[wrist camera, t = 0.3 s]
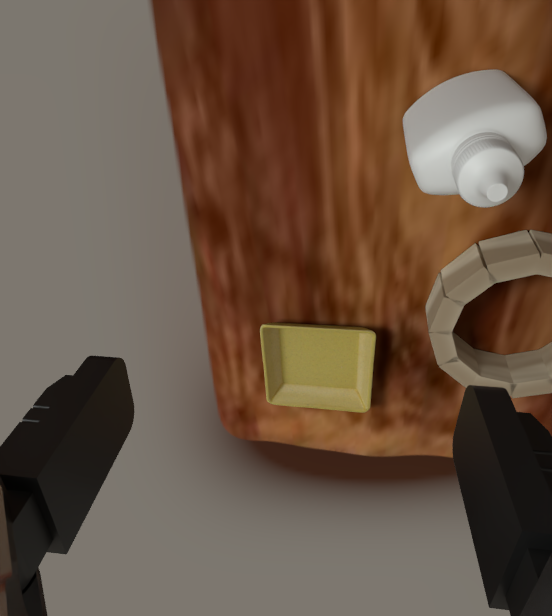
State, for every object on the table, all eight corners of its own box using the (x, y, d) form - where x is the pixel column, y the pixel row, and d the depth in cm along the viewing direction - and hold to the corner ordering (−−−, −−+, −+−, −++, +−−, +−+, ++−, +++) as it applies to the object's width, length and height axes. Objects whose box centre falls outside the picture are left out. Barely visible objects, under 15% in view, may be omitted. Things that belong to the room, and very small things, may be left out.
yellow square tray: (370, 396, 41) (369, 414, 40) (270, 387, 43) (266, 405, 41) (376, 314, 36) (376, 331, 35) (264, 308, 38) (259, 324, 36)
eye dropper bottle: (496, 152, 28) (558, 253, 18) (397, 145, 29) (407, 239, 19) (520, 69, 25) (606, 136, 16) (410, 64, 26) (429, 125, 16)
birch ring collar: (534, 196, 29) (548, 217, 27) (646, 306, 32) (668, 334, 29) (394, 307, 35) (395, 332, 33) (498, 390, 38) (506, 419, 36)
